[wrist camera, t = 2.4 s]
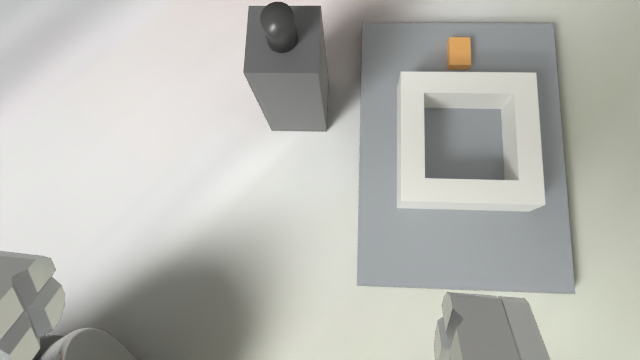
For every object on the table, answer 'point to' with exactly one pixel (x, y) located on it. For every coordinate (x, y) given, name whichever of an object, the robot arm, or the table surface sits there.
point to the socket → (462, 159)
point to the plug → (288, 65)
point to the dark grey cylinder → (82, 346)
